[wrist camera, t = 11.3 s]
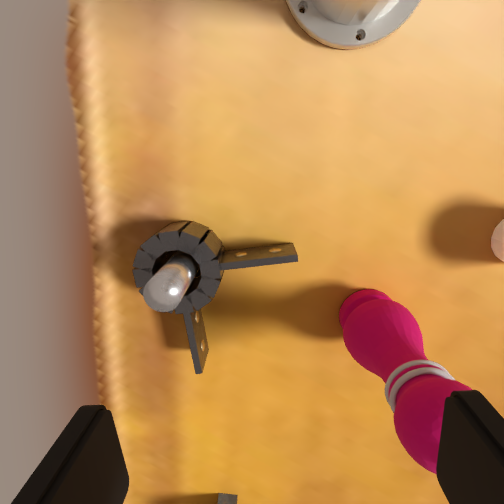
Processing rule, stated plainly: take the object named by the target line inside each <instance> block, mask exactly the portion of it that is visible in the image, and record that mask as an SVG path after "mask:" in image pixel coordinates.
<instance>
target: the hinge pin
mask: <svg viewBox="0 0 504 504" xmlns="http://www.w3.org/2000/svg"><path fill="white" fill-rule="evenodd" d="M199 268H200V265H199V264H198V263H197V262H196V260H195V259H194V258H193V257H192V256H191V255H190V254H187V253H185V252H182V251H180V250H178V251H177V252H176V253H175V254H174V255H173V256H172V257H171V258H170V259H169V260H168V261H167V262H166V263H165V264H164V265H163V266H162V267H161V269H160V270H159V271H158V272H157V273H156V274H155V275H154V276H153V277H152V278H151V279H150V280H149V281H148V282H147V284H146V285H145V287H144V290H143V296H144V300H145V302H146V303H147V304H148V306H149V307H151V308H152V309H154V310H156V311H159V312H169V311H171V310H173V309H175V308H176V307H177V306H178V304H179V303H180V301H181V299H182V297H183V296H184V294H185V292H186V291H187V289H188V287H189V285H190V284H191V282H192V280H193V278H194V277H195V275H196V273H197V272H198V270H199Z"/></svg>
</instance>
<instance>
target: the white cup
mask: <svg viewBox="0 0 504 504" xmlns="http://www.w3.org/2000/svg"><path fill="white" fill-rule="evenodd" d="M491 248H492V250H493V252H494V254H495V256H496V257H498V258H499V259H500V260H502V261H503V262H504V219H503V220H502V221H501V222H500V223H499V224H498V225H497V226H496V227H495V229H494V232H493V234H492V237H491Z"/></svg>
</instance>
